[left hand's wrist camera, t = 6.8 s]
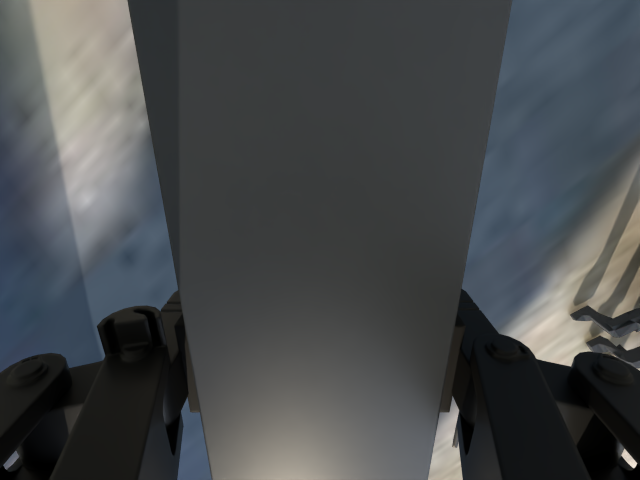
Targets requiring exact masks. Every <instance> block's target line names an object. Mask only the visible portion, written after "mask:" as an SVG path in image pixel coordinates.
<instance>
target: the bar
mask: <svg viewBox="0 0 640 480" xmlns="http://www.w3.org/2000/svg"><path fill="white" fill-rule="evenodd" d="M511 4H512V0H128V6H129V11H130V17H131V23H132V28H133V34H134V40H135V46H136V51H137V57H138V63H139V68H140V74H141V80H142V85H143V91H144V97H145V102H146V108H147V114H148V119H149V125H150V131H151V136H152V142H153V148H154V153H155V159H156V165H157V171H158V176H159V182H160V188H161V193H162V199H163V205H164V210H165V216H166V222H167V227H168V233H169V239H170V244H171V250H172V256H173V261H174V267H175V273H176V278H177V284H178V290H179V296H180V301H181V307H182V313H183V318H184V324H185V330H186V335H187V341H188V347H189V352H190V358H191V364H192V369H193V375H194V381H195V386H196V392H197V398H198V404H199V409H200V415H201V421H202V426H203V432H204V438H205V443H206V449H207V455H208V460H209V466H210V472H211V477H212V480H428V475H429V469H430V463H431V458H432V452H433V446H434V441H435V435H436V429H437V424H438V418H439V412H440V407H441V401H442V395H443V390H444V384H445V378H446V373H447V367H448V361H449V356H450V350H451V344H452V339H453V333H454V327H455V322H456V316H457V310H458V305H459V299H460V293H461V288H462V282H463V276H464V271H465V265H466V259H467V254H468V248H469V242H470V237H471V231H472V225H473V220H474V214H475V208H476V203H477V197H478V191H479V186H480V180H481V174H482V169H483V163H484V157H485V152H486V146H487V140H488V135H489V129H490V123H491V118H492V112H493V106H494V101H495V95H496V89H497V84H498V78H499V72H500V67H501V61H502V55H503V50H504V44H505V38H506V33H507V27H508V21H509V16H510V10H511Z"/></svg>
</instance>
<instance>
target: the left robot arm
mask: <svg viewBox="0 0 640 480" xmlns="http://www.w3.org/2000/svg"><path fill="white" fill-rule="evenodd" d="M97 328H98V332H99V335H100V339H101V342H102V346H103V349H104V352H105V358H104V360H103V361H100V362H96V363H92V364H87V365H82V366H77V367H73V368H69V367H68V364H67V361H66V358H64V357H63V356H62V355H61V354H54V353H48V354H40V355H35V356H32V357H28V358H25V359H23V360H21V361H19V362H17V363H15V364H13V365H11V366H9V367H8V368H6V369H5V370H4V371H2V372H1V373H0V480H177V476H178V468H179V459H180V450H181V441H182V433H183V420H182V415H181V410H182V407H183V405H184V403H185V401H186V399H187V397H188V402H189V407H190V412H200V409H199V404H198V398H197V392H196V386H195V381H194V375H193V369H192V364H191V358H190V352H189V347H188V341H187V335H186V330H185V324H184V318H183V313H182V307H181V301H180V296H179V290H178V291H176V292H175V293H174V294H173V295H172V296H171V297H170V299H169V300H168V301H167V304H165V305H164V306H163V308H162V309H161V312H160V311H159V310H158V309H157V308H155V307H151V306H134V307H130V308H125V309H122V310H120V311H117V312H115V313H112V314H111V315H109V316H107V317H106V318H104V319H103V320H102V321H101V322H100V323H99V324H98V325H97ZM452 395H453V397H454V400H455V402H456V404H457V406H458V408H459V415H458V419H457V424H456V429H455V434H454V439H453V446H452V447H455V448H457V445H458V441H459V449H460V458H461V467H462V476H463V480H640V371H639V370H638V369H636V368H635V367H633V366H632V365H631V364H628V363H626V362H624V361H622V360H620V359H619V358H617V357H614V356H611V355H610V356H609V355H607V354H603V353H597V352H582V353H579V354H578V355H576V356H575V357H574V360H573V363H572V366H571V367H570V366H565V365H560V364H555V363H551V362H546V361H542V360H538V359H536V358H535V356H534V354H533V353H532V352H531V350H530V349H529V348H528V347H527V346H525V345H524V344H523V343H521V342H520V341H518V340H515V339H513V338H511V337H509V336H505V335H501V334H499V333H498V332H497V331H496V329H495V328H494V327H493V326H492V324H491V323H490V322H489V320H488V319H487V318H486V317H485V315H484V314H483V313H482V312H481V310H479V308H478V306H477V305H476V304H475V303H473V300H472V299H471V298H470V296H469V295H468V294H467V292H466V291H464V290H463V289H461V293H460V299H459V305H458V310H457V316H456V322H455V327H454V333H453V339H452V344H451V350H450V356H449V361H448V367H447V373H446V378H445V384H444V390H443V395H442V401H441V407H440V412H449V411H450V406H451V401H452ZM624 448H625V449H626V451H627V452H628V453H629V454H630V455H631V456H632V457H633V459H634V460H635V461H636V462H637V465H636V467H635V468H632V467H631V466H630V465H629V464H628V463H627V462H626V461H625V460H624V458H623V457H622V456H621V455H622V452H623V450H624ZM15 450H16V451H17V453H18V455H19V458H18V459H17V460H16V461H15V463H14V464H13V465H12V466H11V467H9V468H8V469H7V470H6V469H5V468H4V466H3V465H4V463H5V462H6V461H7V460H8V459H9V458H10V456H11V455H12V454H13V453H14V452H15Z"/></svg>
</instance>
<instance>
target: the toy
mask: <svg viewBox="0 0 640 480" xmlns="http://www.w3.org/2000/svg"><path fill="white" fill-rule="evenodd" d="M570 315H571V317H572V319H573V320H576V321H593V322H594V323H596V324H597V325H598V326H600V327H601V328H602V329H604V330H605V331H606V332H608V333H609V334H610V335H612V336H613V337H617V338H618V337H622V336H624V335H626V334H628V333H630V332H633V331H636V332H638V331H640V308H637V309H635V310H632V311H629V312H626V313H624V314H622V315H620V316H618V317H616V318H610V317H607V316H604V315H602V314H599V313H598V312H596V311H595V310H593V309H592V308H591V307H589V306H586V307H584V308H582V309H580V310H578V311H576V312H574V313H572V314H570ZM587 345H588V347H589V349H590V350H591V351H592V352H597V353H603V352H611V353H613V354H614V355H615V356H616V357H617V358H619V359H620V360H622V361H624V362H626V363H628V364H631V365H632V366H633V367H635V368H640V346H639V347H637V348H634V349H631V350H628V351H626V350H625V349H624V348H623V347H622V346H621V345H620V344H619V345H618V346H617V347H616V346H615V345H614V344H612V343H611V342H610V341H609V340H608V339H606V338H603V337H601V336H599V337H597V338H595V339H593V340H591V341H589V342H587Z"/></svg>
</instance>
